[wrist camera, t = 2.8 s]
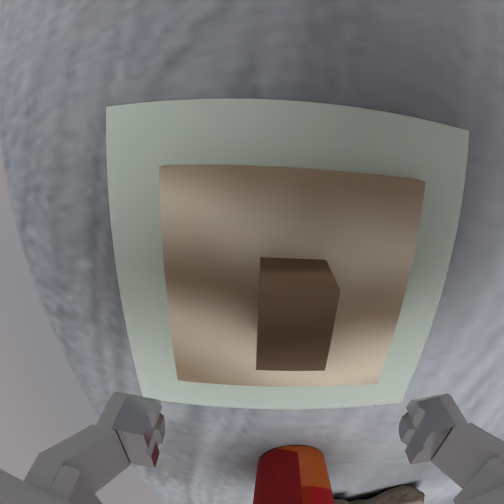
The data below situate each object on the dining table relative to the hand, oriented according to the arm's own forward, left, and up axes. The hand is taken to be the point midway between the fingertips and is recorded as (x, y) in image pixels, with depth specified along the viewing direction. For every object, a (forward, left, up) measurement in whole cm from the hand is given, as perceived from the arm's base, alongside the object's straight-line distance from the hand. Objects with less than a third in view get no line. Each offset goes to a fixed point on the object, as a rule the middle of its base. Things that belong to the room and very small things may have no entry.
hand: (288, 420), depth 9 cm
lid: (-1, 0, -8) cm, 8 cm away
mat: (-1, 0, -8) cm, 8 cm away
